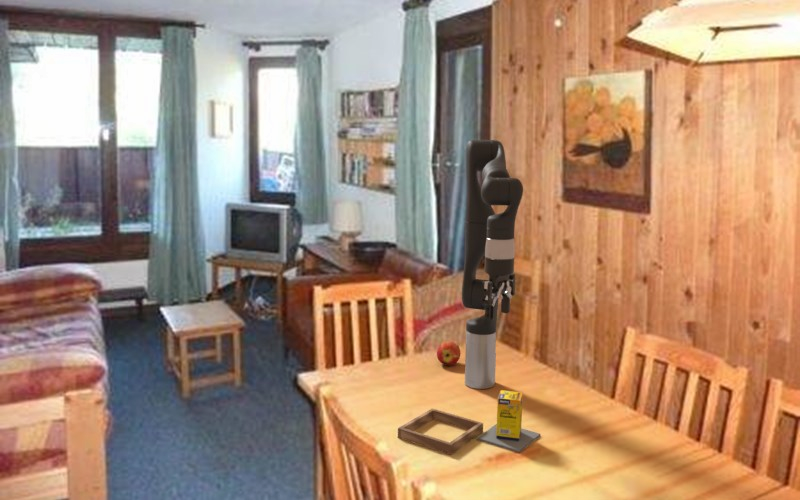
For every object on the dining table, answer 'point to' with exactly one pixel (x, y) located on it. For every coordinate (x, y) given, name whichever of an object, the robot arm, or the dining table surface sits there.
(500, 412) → the supplement box
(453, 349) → the apple
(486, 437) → the mat
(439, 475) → the dining table surface
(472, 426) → the frame
